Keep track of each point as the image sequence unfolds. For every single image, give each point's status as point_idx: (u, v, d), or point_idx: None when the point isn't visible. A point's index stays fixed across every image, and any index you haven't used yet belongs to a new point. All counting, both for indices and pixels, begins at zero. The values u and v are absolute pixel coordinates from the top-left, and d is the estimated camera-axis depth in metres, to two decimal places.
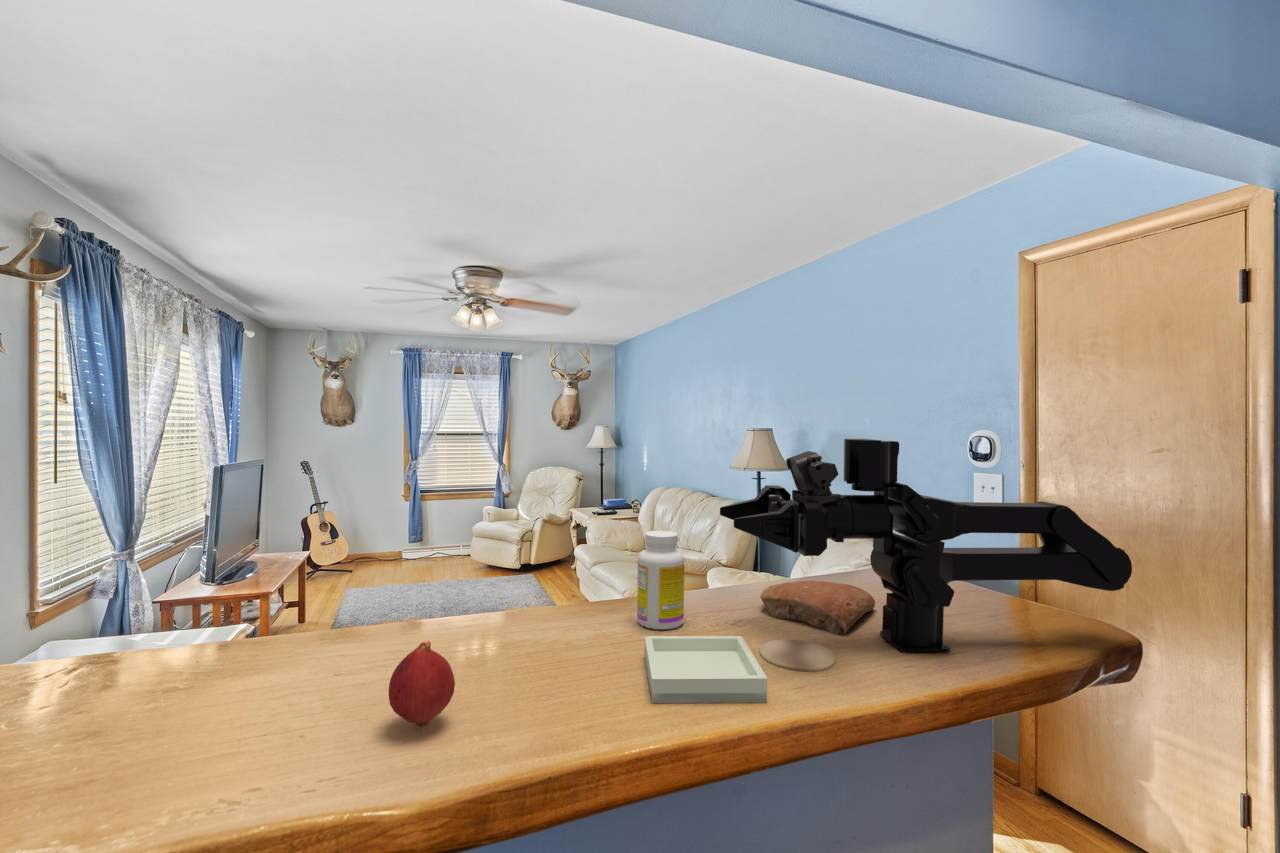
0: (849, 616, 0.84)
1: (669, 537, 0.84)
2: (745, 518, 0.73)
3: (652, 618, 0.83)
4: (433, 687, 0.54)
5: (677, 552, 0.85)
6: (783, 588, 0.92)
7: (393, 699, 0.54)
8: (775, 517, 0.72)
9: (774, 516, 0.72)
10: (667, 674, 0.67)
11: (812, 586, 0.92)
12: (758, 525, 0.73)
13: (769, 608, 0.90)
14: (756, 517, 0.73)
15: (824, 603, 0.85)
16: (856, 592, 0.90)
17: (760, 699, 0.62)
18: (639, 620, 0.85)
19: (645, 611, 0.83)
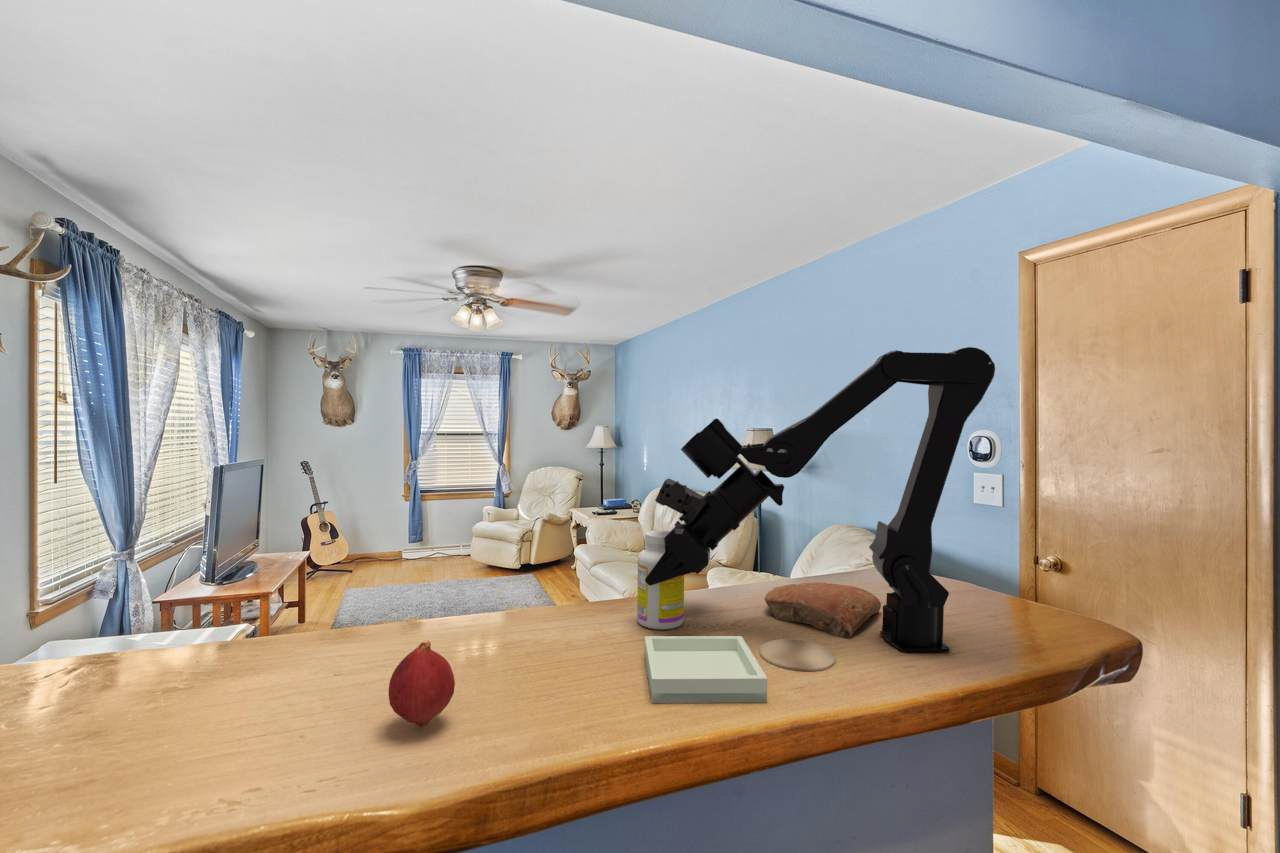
0: (855, 619, 0.83)
1: None
2: (649, 573, 0.82)
3: (652, 618, 0.83)
4: (433, 687, 0.54)
5: None
6: (788, 590, 0.91)
7: (393, 699, 0.54)
8: (665, 557, 0.81)
9: (663, 557, 0.81)
10: (667, 674, 0.67)
11: (817, 588, 0.90)
12: (661, 571, 0.81)
13: (773, 610, 0.89)
14: (654, 567, 0.82)
15: (829, 605, 0.84)
16: (862, 594, 0.89)
17: (760, 699, 0.62)
18: (639, 620, 0.85)
19: (645, 610, 0.83)
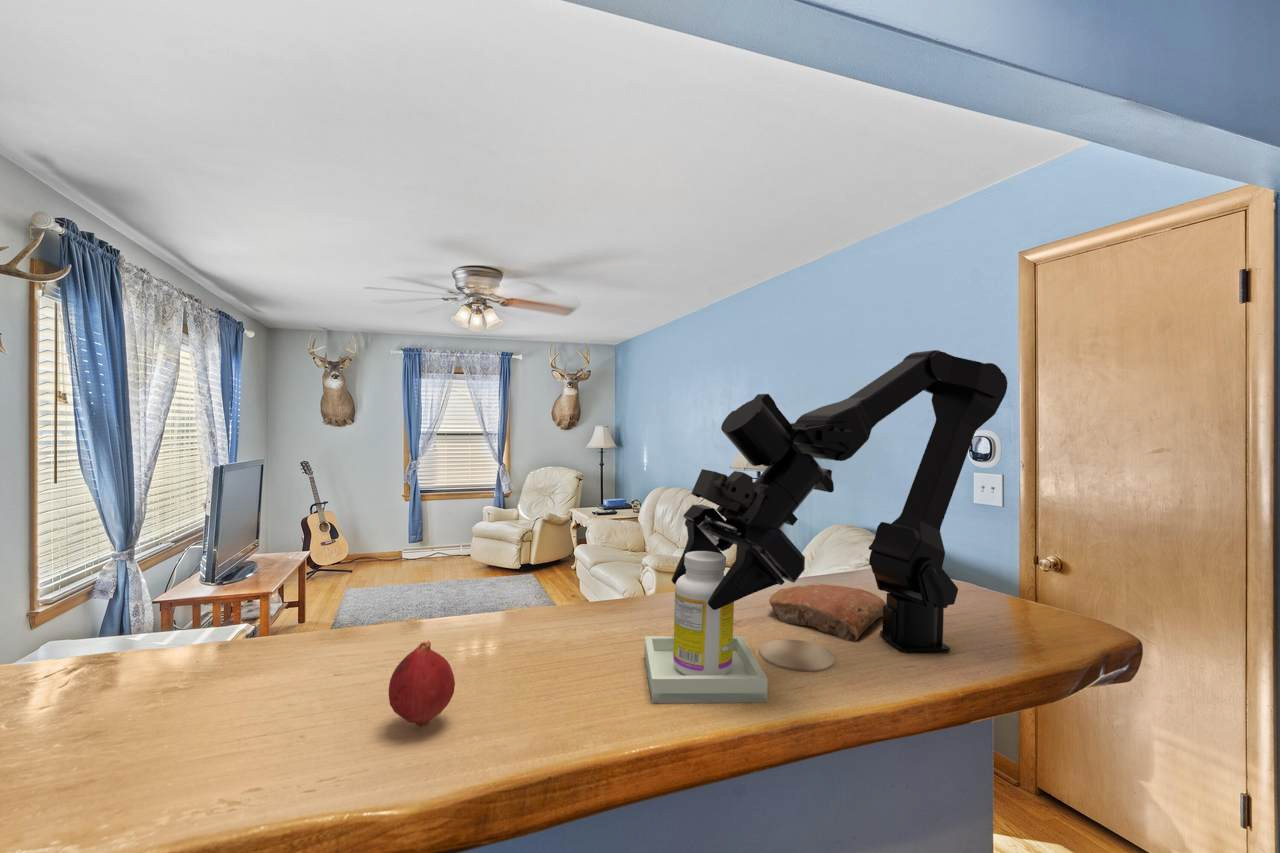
0: (861, 623, 0.82)
1: (724, 559, 0.67)
2: (717, 594, 0.63)
3: (712, 665, 0.65)
4: (433, 687, 0.54)
5: None
6: (792, 592, 0.90)
7: (393, 699, 0.54)
8: (741, 571, 0.63)
9: (739, 571, 0.63)
10: (667, 674, 0.67)
11: (822, 590, 0.89)
12: (732, 590, 0.63)
13: (778, 613, 0.88)
14: (725, 585, 0.63)
15: (834, 608, 0.83)
16: (868, 597, 0.88)
17: (760, 699, 0.62)
18: (688, 671, 0.66)
19: (701, 657, 0.65)
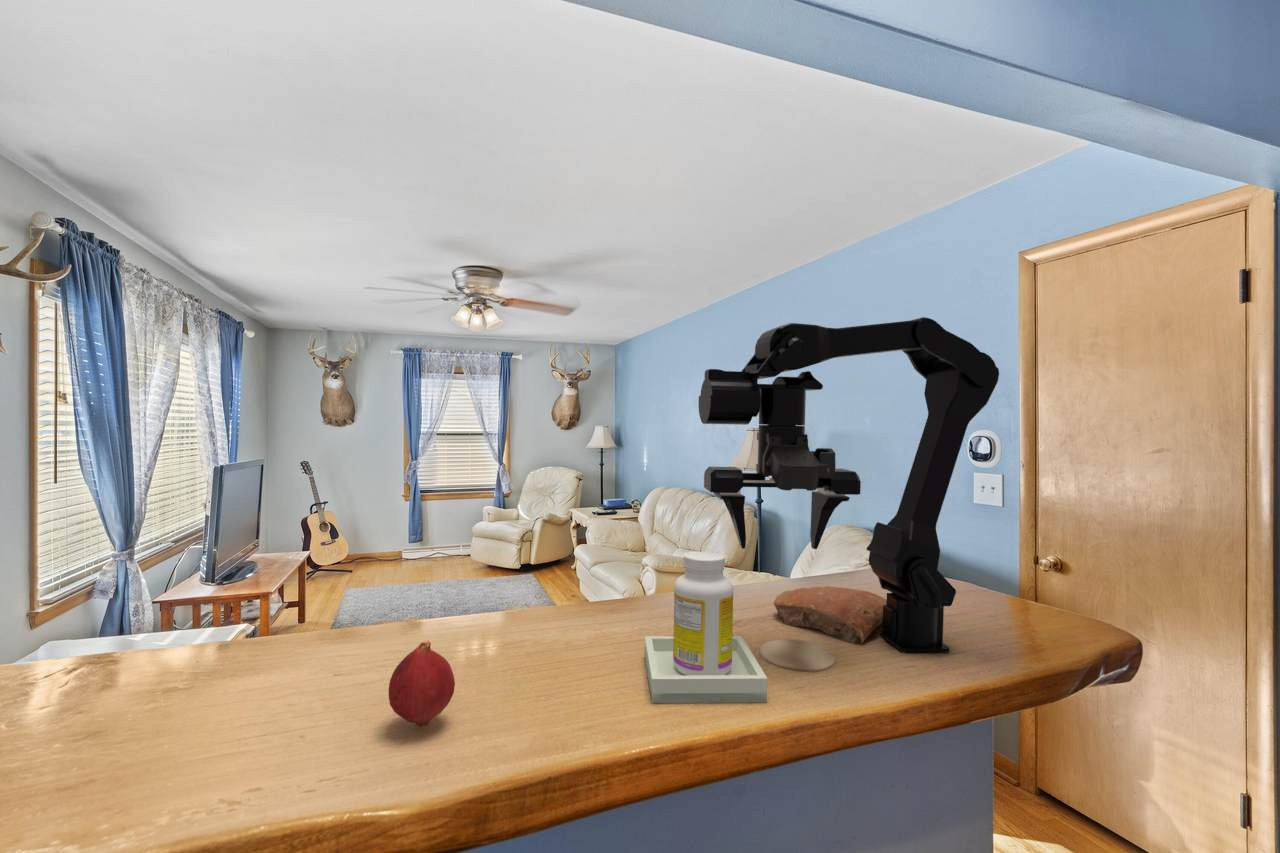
0: (867, 625, 0.81)
1: (723, 559, 0.67)
2: None
3: (711, 665, 0.65)
4: (433, 687, 0.54)
5: None
6: (797, 594, 0.89)
7: (393, 699, 0.54)
8: None
9: None
10: (667, 674, 0.67)
11: (828, 592, 0.88)
12: None
13: (783, 615, 0.87)
14: (824, 529, 0.76)
15: (840, 610, 0.82)
16: (874, 599, 0.87)
17: (760, 699, 0.62)
18: (687, 671, 0.66)
19: (700, 657, 0.65)
